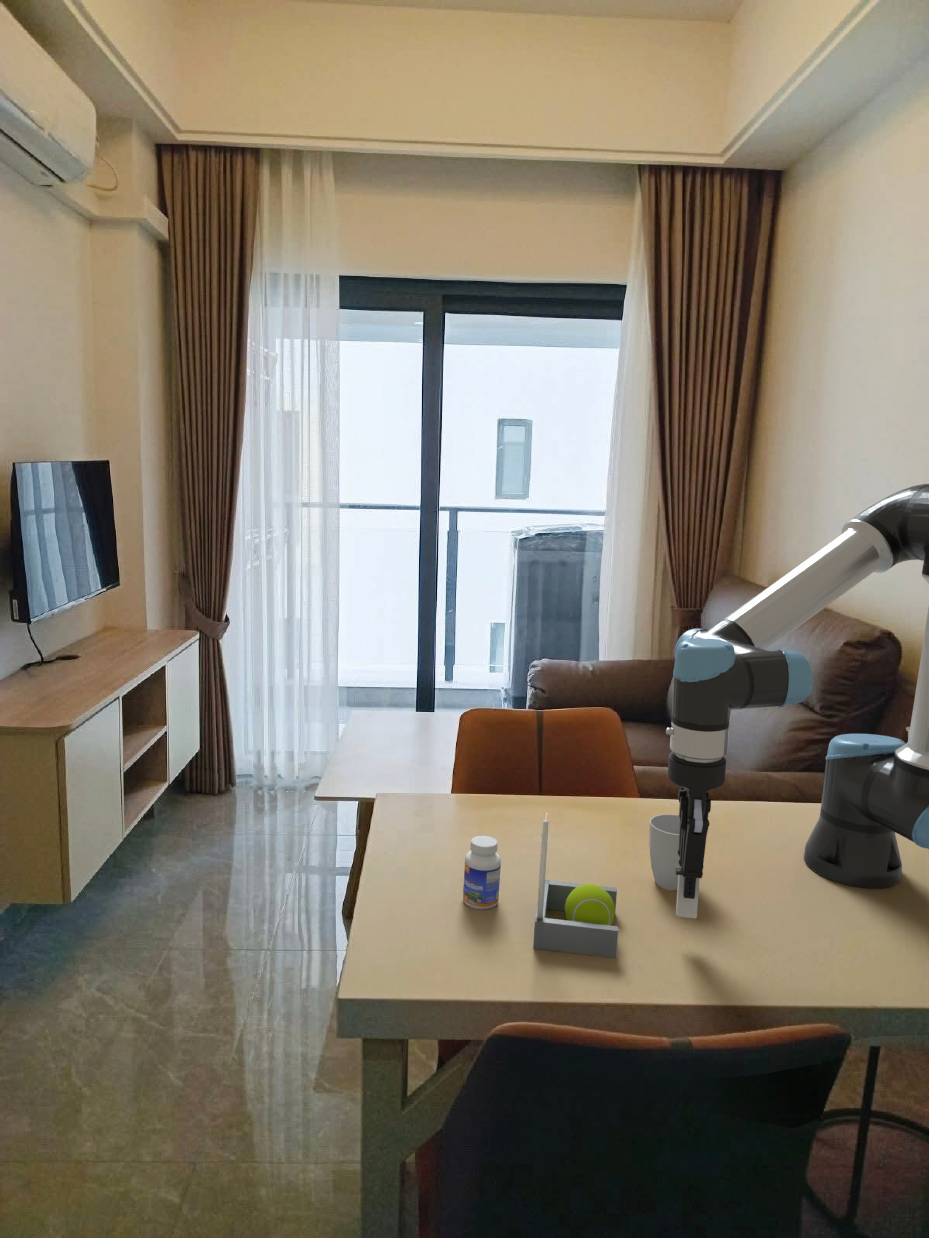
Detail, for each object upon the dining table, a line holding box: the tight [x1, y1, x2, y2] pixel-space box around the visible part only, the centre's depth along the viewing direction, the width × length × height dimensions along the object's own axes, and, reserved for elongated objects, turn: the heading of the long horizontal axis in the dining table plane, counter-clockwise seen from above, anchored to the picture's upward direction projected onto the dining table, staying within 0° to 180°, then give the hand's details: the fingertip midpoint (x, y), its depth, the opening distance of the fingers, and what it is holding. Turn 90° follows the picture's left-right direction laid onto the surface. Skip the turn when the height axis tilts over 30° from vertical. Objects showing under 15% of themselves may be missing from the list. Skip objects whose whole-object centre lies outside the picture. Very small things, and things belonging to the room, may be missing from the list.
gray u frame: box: [532, 812, 619, 959], centre depth 123 cm, size 11×12×18 cm
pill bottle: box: [462, 835, 502, 910], centre depth 130 cm, size 5×5×10 cm
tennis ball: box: [564, 883, 616, 926], centre depth 123 cm, size 7×7×7 cm
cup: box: [648, 813, 681, 891], centre depth 139 cm, size 8×8×10 cm
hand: (686, 914), depth 121 cm, fingers closed
